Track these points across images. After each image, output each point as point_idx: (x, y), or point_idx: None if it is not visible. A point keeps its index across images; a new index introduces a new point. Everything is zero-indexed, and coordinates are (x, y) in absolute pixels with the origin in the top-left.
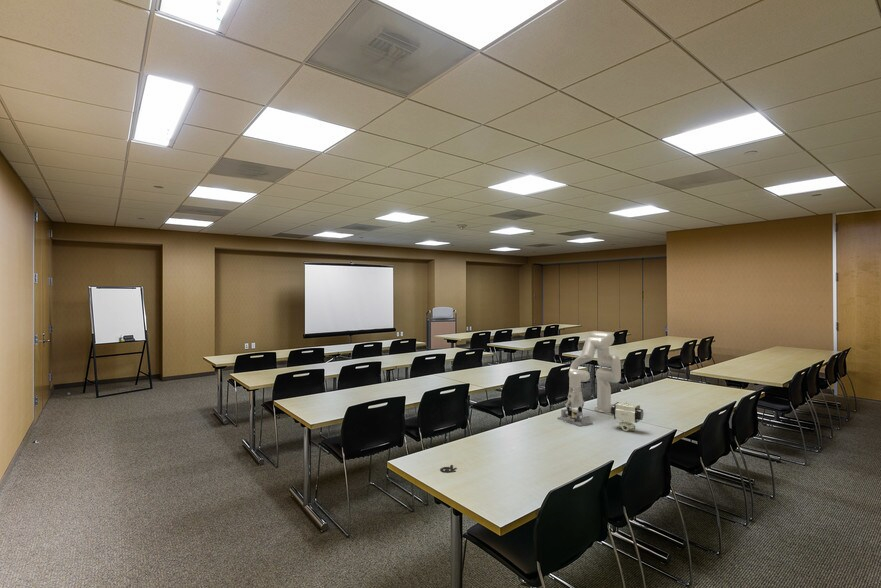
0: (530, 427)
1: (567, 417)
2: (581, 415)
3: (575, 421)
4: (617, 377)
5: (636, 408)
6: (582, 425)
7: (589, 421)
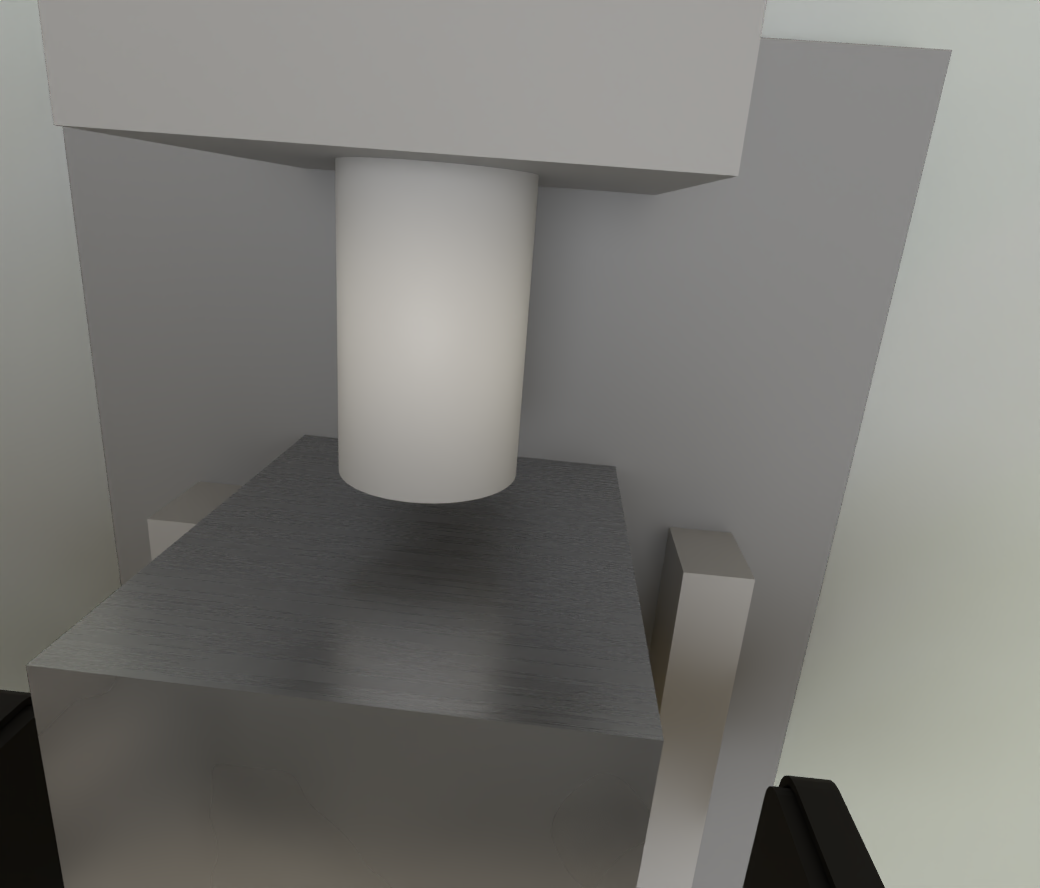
0: None
1: (673, 880)
2: (236, 545)
3: None
4: None
5: None
6: (766, 46)
7: (75, 205)
